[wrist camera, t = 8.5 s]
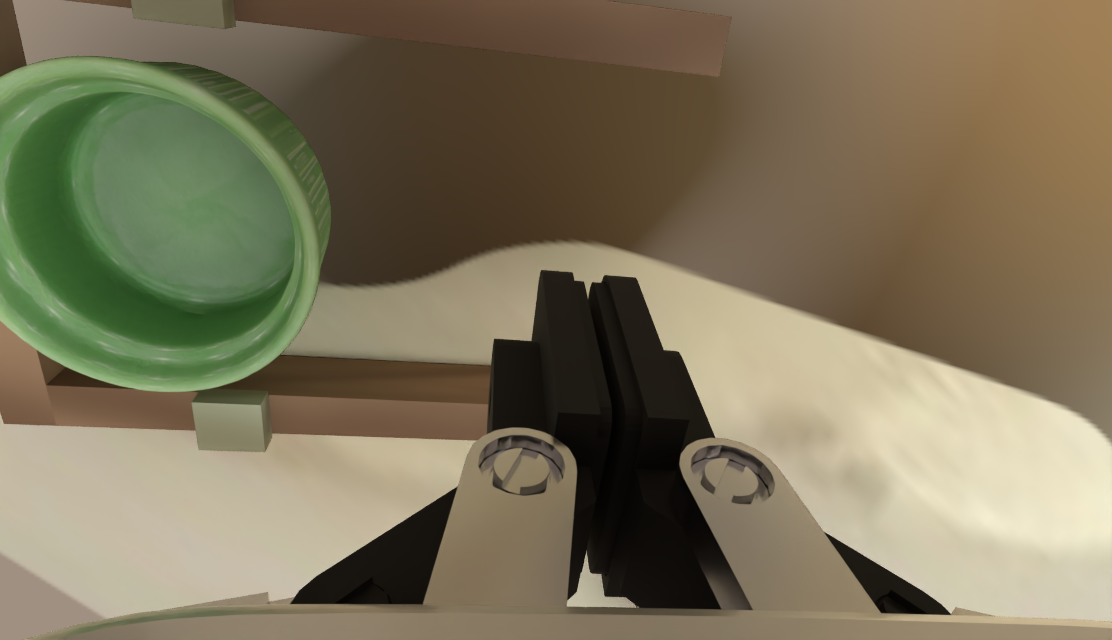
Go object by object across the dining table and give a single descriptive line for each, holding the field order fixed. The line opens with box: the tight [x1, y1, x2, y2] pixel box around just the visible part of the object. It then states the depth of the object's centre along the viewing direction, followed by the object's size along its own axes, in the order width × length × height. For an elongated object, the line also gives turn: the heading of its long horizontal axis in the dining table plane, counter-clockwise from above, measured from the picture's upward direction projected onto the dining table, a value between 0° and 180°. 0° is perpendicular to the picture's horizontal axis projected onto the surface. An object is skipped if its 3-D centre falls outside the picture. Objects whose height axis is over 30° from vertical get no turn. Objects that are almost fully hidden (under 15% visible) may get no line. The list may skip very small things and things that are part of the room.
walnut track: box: [0, 0, 732, 452], centre depth 20 cm, size 14×20×3 cm
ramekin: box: [0, 56, 331, 392], centre depth 19 cm, size 9×9×4 cm
